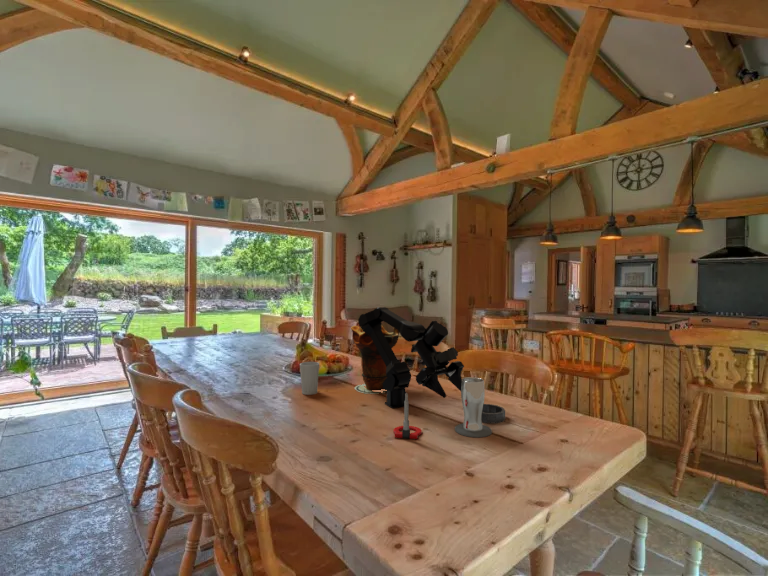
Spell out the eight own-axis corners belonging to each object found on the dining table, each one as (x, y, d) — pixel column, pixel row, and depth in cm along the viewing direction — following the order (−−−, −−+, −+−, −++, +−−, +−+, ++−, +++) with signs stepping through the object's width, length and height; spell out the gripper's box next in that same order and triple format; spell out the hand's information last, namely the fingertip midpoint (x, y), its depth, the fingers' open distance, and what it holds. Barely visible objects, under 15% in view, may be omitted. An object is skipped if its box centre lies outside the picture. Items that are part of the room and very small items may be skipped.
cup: (297, 391, 163) (297, 362, 163) (316, 389, 166) (316, 361, 166) (302, 396, 156) (302, 366, 156) (321, 393, 159) (321, 364, 159)
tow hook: (395, 428, 121) (391, 438, 112) (395, 386, 122) (391, 393, 113) (422, 430, 120) (420, 440, 111) (422, 388, 120) (420, 394, 111)
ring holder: (486, 425, 123) (486, 415, 123) (465, 415, 132) (465, 406, 132) (511, 420, 127) (511, 410, 127) (489, 410, 137) (489, 402, 137)
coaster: (470, 440, 111) (470, 438, 111) (447, 427, 121) (447, 426, 121) (499, 433, 116) (499, 432, 116) (475, 422, 126) (475, 420, 126)
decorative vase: (410, 384, 173) (408, 321, 171) (382, 399, 153) (380, 329, 152) (371, 378, 184) (369, 319, 182) (341, 392, 164) (338, 326, 163)
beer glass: (487, 427, 120) (487, 378, 120) (481, 434, 114) (480, 383, 114) (465, 423, 123) (465, 376, 123) (458, 430, 117) (457, 380, 117)
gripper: (422, 342, 121) (450, 384, 113) (459, 337, 133) (487, 375, 125) (404, 363, 127) (429, 405, 119) (441, 357, 139) (467, 394, 131)
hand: (454, 394), depth 123 cm, fingers open, 9 cm apart
